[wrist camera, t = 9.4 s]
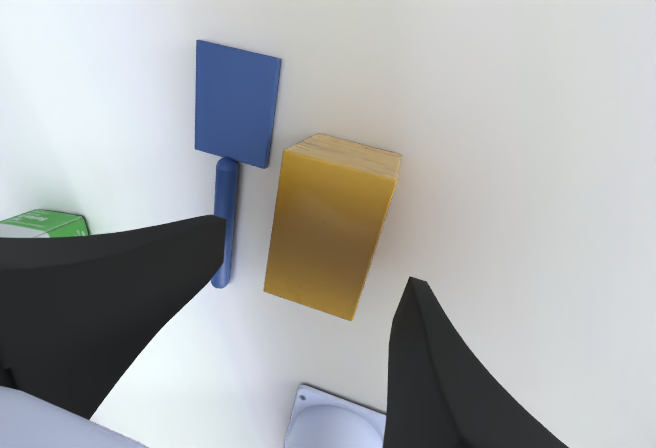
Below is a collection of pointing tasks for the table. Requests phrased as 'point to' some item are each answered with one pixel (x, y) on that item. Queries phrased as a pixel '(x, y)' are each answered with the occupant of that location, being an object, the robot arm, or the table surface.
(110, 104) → the table surface
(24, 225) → the ink box
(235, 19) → the table surface
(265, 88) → the spatula
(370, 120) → the table surface
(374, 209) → the block
